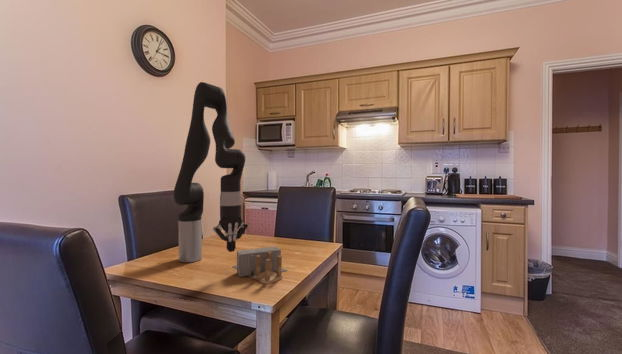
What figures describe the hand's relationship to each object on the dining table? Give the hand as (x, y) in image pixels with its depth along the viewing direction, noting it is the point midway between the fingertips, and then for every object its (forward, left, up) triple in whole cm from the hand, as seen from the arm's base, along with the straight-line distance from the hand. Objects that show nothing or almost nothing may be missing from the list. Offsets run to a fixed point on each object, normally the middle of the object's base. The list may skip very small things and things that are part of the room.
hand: (231, 251), depth 107 cm
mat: (0, +11, -9) cm, 14 cm away
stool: (+12, +8, -9) cm, 17 cm away
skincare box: (+1, +2, -5) cm, 5 cm away
